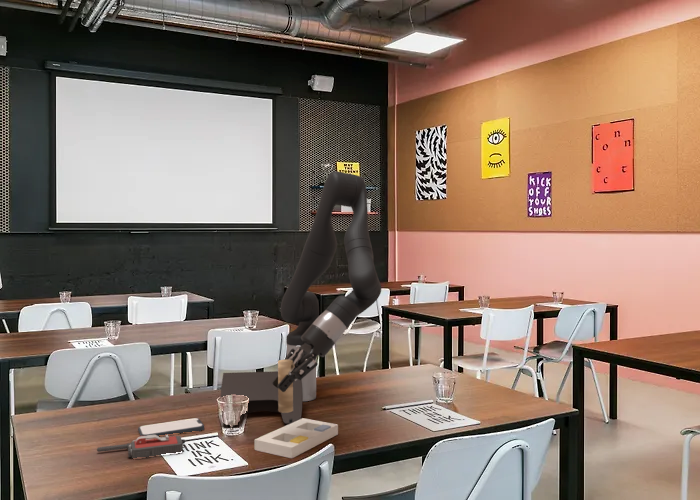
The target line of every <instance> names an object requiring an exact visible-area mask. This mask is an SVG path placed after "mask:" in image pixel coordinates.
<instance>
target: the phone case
mask: <svg viewBox="0 0 700 500" xmlns="http://www.w3.org/2000/svg"><path fill="white" fill-rule="evenodd" d="M201 430H203V431H204V430H205V424H204V423H203V422H202V420H201V419H200V418H198V417H194V418H188V419H186V418H185V419H179V420H174V421H166V422H160V423H154V424H153V423H151V424H146V425H140V426H138V427H137V432H138V431H139V432H138V434H139V433H140V435H139V436H147V435H157V436H159V435H165V434H173V433H183V432H192V431H199V432H202V431H201ZM192 433H193V432H192Z"/></svg>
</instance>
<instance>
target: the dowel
mask: <svg viewBox="0 0 700 500" xmlns="http://www.w3.org/2000/svg"><path fill="white" fill-rule="evenodd" d="M292 364H293V360H285V359H280V360H278V361H277V371H278V384H279V383H280V382H281V381H282V379H283V378H284V377H285V376H286V375H288V372H289V371H290V370H291V368H292ZM278 410H279V412H278V413H281V412H282V413H288V412H292V411H293V383H292V384H291V385H290V386H289V387H288V388H287V390H286V391H285V392H282V391H281V390H280V389H279V388H278Z"/></svg>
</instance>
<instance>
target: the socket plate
mask: <svg viewBox="0 0 700 500" xmlns="http://www.w3.org/2000/svg"><path fill="white" fill-rule="evenodd" d="M338 435H339V424H336V423H332V422H325V421H321V420H314V419H309V418H303V417H301V419H300V420H298V421H295V422H293V423H291V424H286V425H284V426H282V427H279V428H278V429H275V430H273V431H271V432H268V433H265V434H264V435H261V436H260V437H258V438H255V439H254V450H255V451H257V452H262V453H267V454H271V455H275V456H278V457H285V458H287V459H288V458H289V459H294V458H296V457H297V456H299V455H301V454H303V453H306V452H307V451H309V450H311V449H312V448H315V447H316V446H319V445H320V444H322V443H324V442H327V441H329V440H330V439H331V438H334V437H335V436H338Z"/></svg>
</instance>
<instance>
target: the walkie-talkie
mask: <svg viewBox="0 0 700 500" xmlns="http://www.w3.org/2000/svg"><path fill="white" fill-rule="evenodd" d="M185 443H186V440H185V439H183V438H182V436H181V435H173V436H168V434H167V435H165V436H163V437H159V436H157V435H147V436H140V435H139V436H138V437H136V439H133V440H132V441H131V442H130V443H129V442H128V443H125V444H115V445H108V446H100V447H97V448H96V451H97V453H98V452H99V453H101V452H107V451H108V452H109V451H116V450H125V449H126V450H127V453H128V454H127V456H128V458H131V459H132V458H137V457H149V456H156V455H161V454H166V453H176V452H181V451H184V450H183V448H184V447H183V445H184V444H185Z"/></svg>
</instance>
